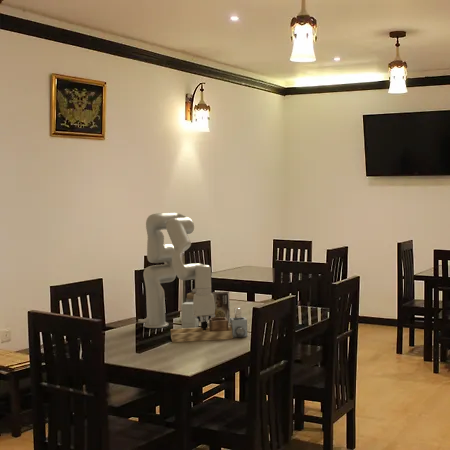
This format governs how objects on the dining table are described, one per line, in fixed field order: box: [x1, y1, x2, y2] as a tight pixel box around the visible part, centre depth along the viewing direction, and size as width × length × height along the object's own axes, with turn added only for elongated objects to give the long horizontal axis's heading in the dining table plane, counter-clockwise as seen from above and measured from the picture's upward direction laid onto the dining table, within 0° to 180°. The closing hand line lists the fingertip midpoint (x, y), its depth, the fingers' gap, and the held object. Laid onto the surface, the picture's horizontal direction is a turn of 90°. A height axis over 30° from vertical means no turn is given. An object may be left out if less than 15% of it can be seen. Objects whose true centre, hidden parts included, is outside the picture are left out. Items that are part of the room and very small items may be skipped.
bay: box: [170, 323, 234, 343], centre depth 328 cm, size 28×13×5 cm, turn 97°
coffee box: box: [211, 291, 231, 324], centre depth 366 cm, size 9×6×16 cm
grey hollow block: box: [229, 316, 248, 339], centre depth 329 cm, size 7×10×8 cm
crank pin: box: [234, 307, 243, 320], centre depth 330 cm, size 3×3×8 cm
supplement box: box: [180, 301, 200, 329], centre depth 355 cm, size 7×7×13 cm
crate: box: [208, 317, 228, 332], centre depth 329 cm, size 8×9×7 cm
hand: (204, 329), depth 328 cm, fingers closed
